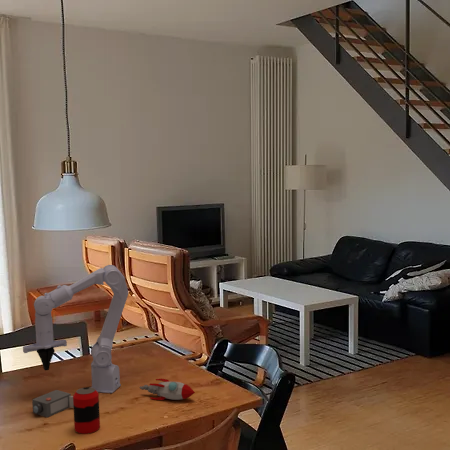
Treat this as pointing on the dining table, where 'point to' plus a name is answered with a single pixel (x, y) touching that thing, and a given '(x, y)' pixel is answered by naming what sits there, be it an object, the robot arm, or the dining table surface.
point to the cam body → (51, 403)
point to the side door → (71, 402)
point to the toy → (169, 390)
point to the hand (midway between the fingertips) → (46, 369)
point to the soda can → (86, 410)
